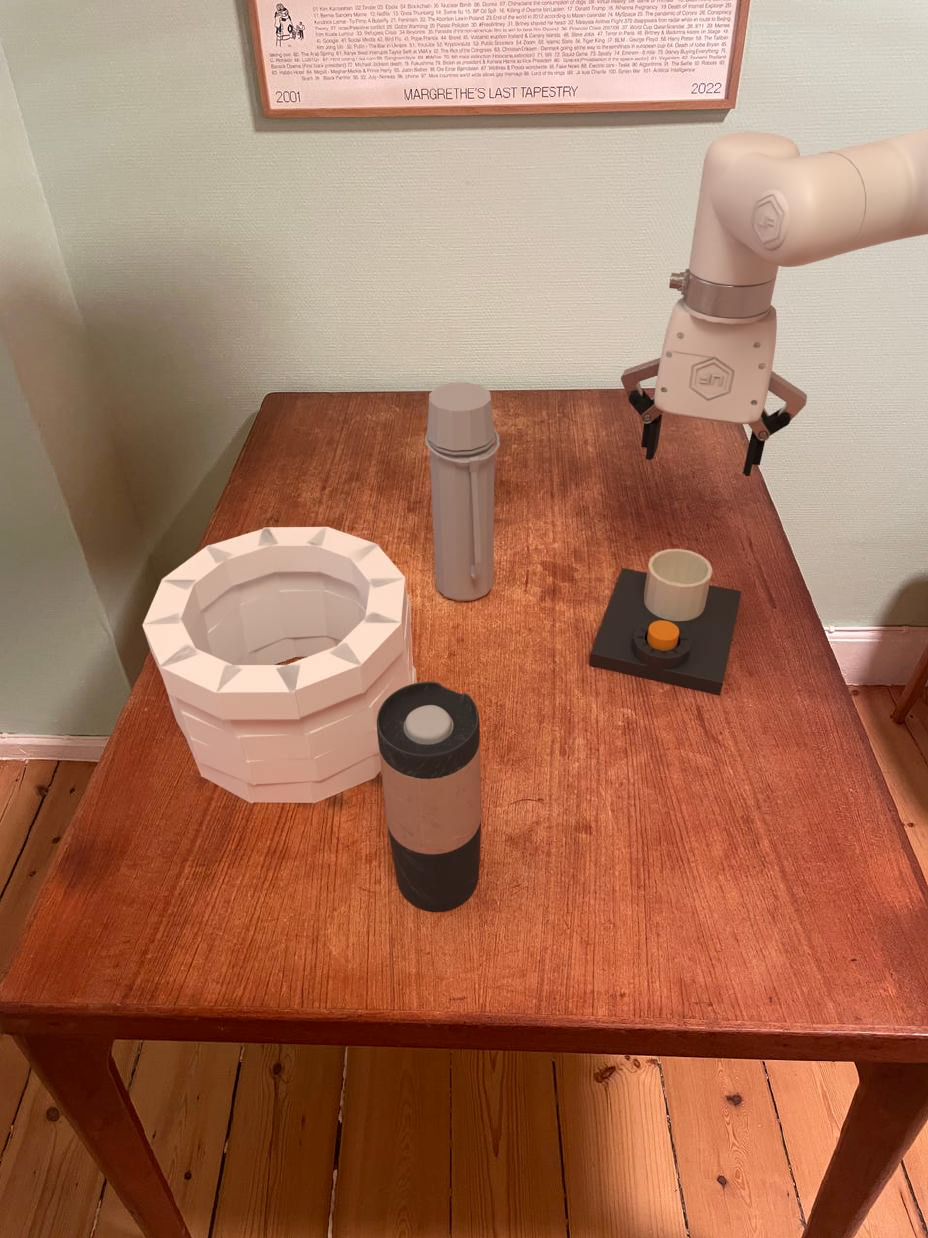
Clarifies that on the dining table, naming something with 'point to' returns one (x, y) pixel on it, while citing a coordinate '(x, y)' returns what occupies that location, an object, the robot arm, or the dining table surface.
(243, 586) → the container
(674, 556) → the bowl
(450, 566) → the water bottle
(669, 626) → the button
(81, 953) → the dining table surface
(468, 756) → the travel mug
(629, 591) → the scale
